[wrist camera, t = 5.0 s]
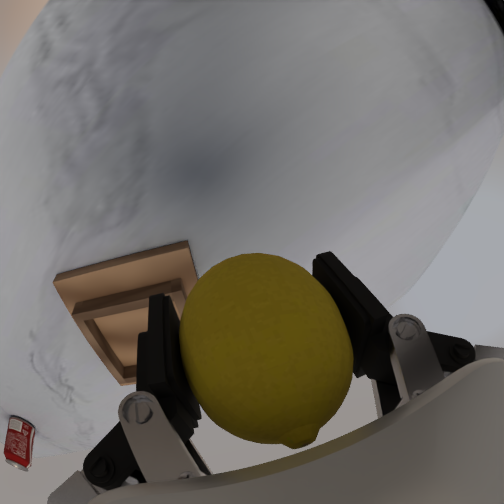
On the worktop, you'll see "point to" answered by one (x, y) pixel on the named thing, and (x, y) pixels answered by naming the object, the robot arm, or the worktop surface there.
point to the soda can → (19, 443)
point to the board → (125, 300)
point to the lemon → (265, 350)
